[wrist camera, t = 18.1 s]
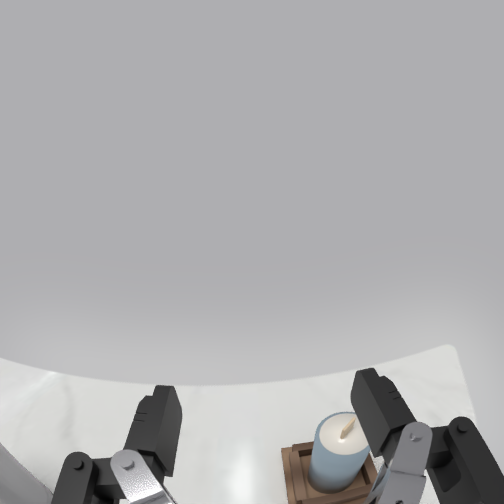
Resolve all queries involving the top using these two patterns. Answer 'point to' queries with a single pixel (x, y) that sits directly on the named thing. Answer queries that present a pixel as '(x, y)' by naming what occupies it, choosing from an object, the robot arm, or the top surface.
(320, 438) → the candle jar
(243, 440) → the top surface
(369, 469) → the tray
